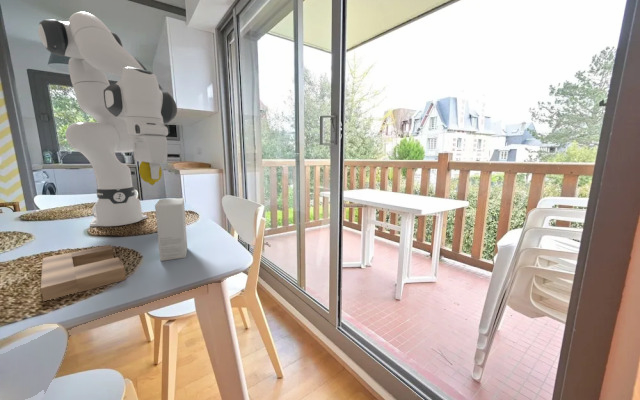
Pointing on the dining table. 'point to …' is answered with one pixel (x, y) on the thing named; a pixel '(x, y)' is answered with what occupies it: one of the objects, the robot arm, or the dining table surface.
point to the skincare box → (171, 228)
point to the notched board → (80, 271)
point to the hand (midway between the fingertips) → (151, 178)
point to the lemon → (148, 173)
